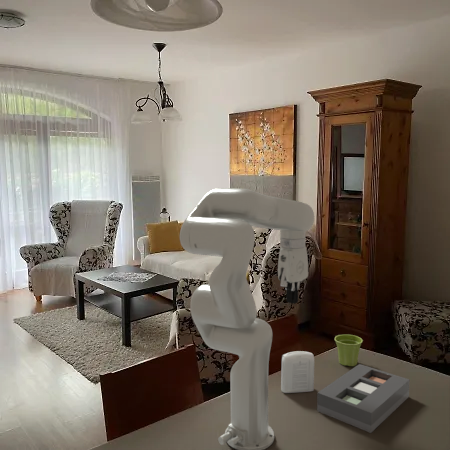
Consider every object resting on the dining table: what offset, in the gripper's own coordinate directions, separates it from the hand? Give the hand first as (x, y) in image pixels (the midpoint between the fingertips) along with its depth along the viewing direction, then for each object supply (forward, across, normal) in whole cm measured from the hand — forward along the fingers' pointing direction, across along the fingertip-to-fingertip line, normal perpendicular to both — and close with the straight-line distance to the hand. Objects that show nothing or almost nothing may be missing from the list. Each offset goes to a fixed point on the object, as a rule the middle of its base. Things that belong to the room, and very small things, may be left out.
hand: (292, 302), depth 141 cm
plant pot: (+27, +27, -5) cm, 39 cm away
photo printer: (+27, -1, -3) cm, 27 cm away
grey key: (+24, +5, -22) cm, 33 cm away
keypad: (+27, +5, -22) cm, 35 cm away
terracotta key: (+25, +13, -22) cm, 36 cm away
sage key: (+25, -3, -22) cm, 33 cm away
